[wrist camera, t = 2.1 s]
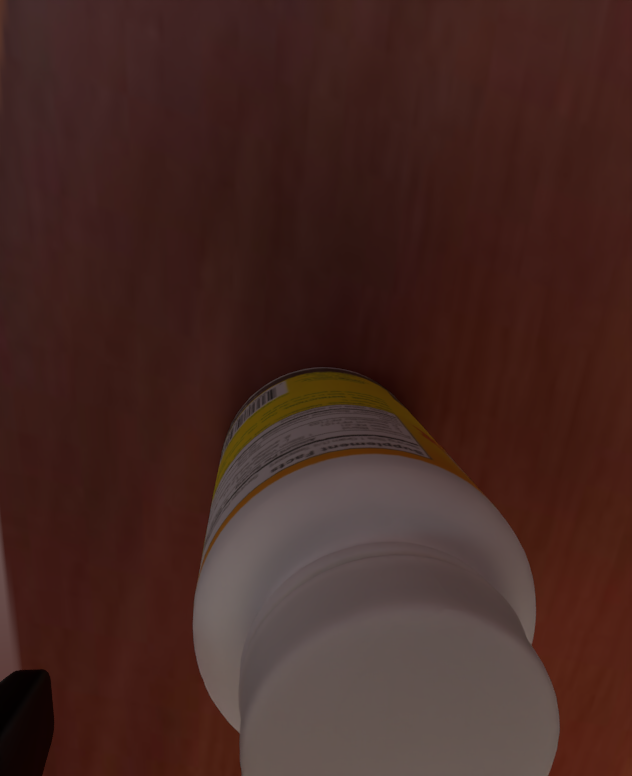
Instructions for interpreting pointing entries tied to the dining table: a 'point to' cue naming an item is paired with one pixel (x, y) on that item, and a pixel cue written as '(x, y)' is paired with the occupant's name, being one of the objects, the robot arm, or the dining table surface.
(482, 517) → the supplement bottle
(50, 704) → the robot arm
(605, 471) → the dining table surface
